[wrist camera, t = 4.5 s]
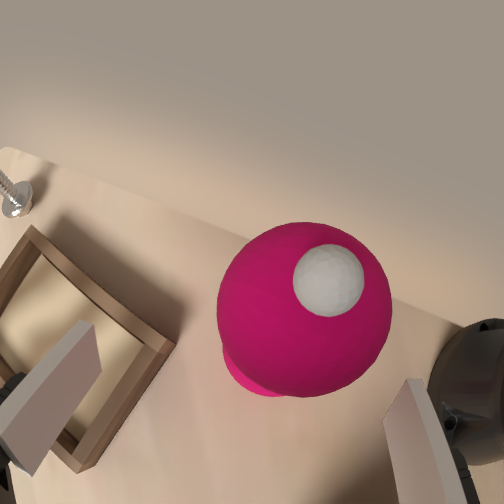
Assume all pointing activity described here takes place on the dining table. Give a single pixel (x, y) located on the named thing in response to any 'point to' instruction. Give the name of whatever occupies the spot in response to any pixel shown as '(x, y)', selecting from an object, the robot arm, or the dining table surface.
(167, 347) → the walnut tray
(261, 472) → the dining table surface
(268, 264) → the pepper mill
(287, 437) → the dining table surface
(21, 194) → the screw
